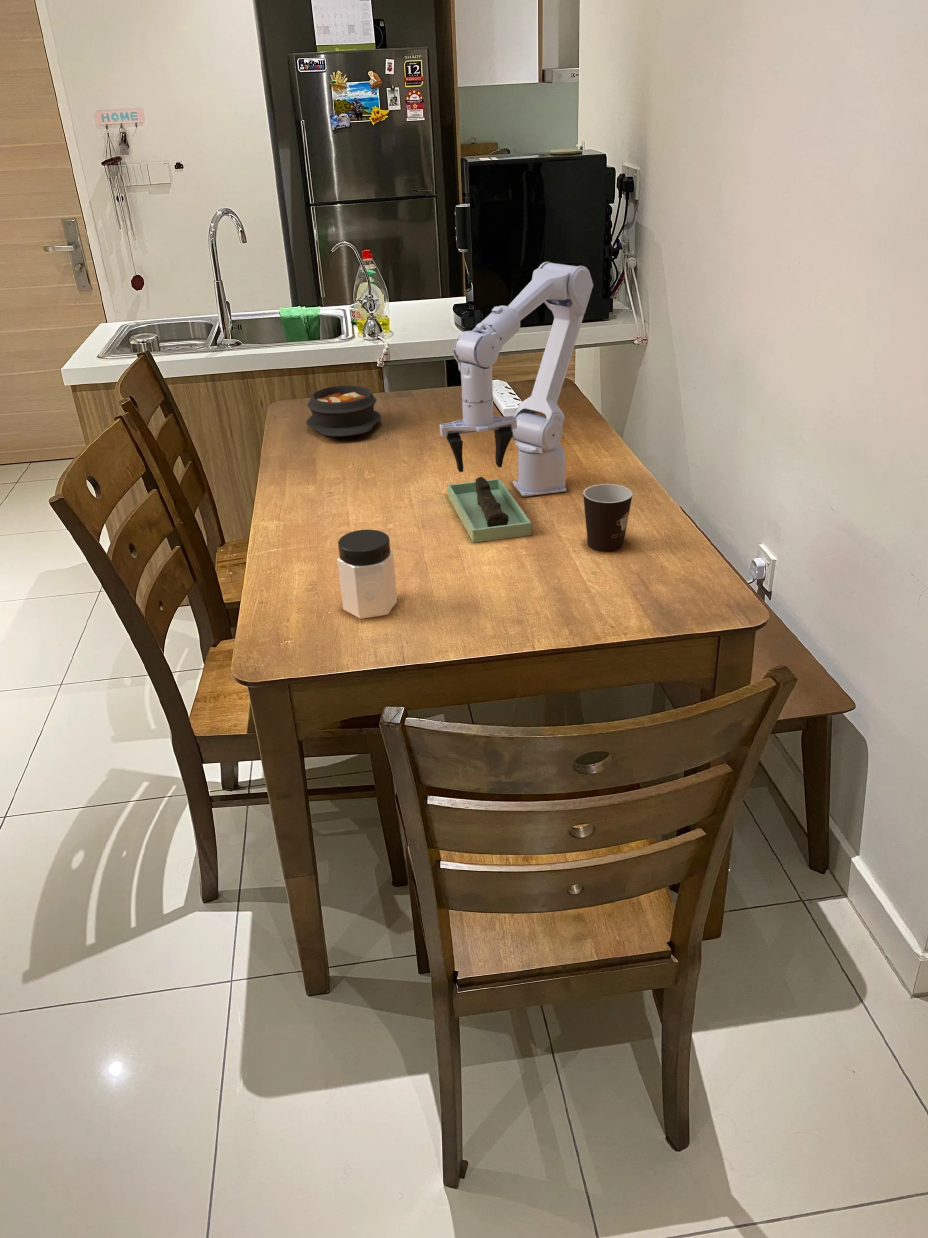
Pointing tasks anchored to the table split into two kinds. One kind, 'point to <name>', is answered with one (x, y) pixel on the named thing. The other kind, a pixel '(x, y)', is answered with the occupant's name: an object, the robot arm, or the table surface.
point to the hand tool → (489, 504)
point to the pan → (474, 517)
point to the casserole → (342, 411)
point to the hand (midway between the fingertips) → (479, 467)
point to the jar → (366, 573)
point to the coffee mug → (606, 516)
